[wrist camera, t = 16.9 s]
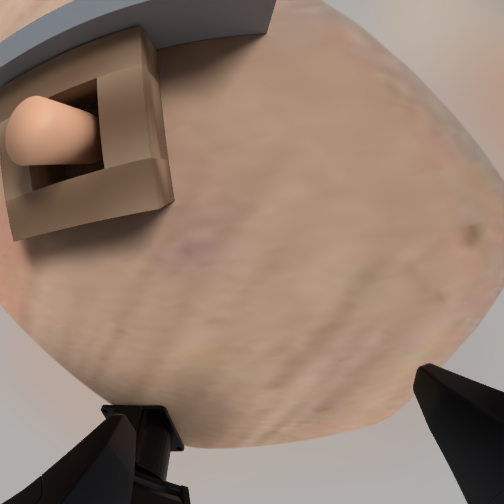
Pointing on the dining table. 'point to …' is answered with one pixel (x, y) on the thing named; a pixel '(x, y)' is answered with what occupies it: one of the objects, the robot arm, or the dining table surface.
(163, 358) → the dining table surface
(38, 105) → the dowel
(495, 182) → the dining table surface
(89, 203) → the block
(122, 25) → the bar
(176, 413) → the dining table surface
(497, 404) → the robot arm
